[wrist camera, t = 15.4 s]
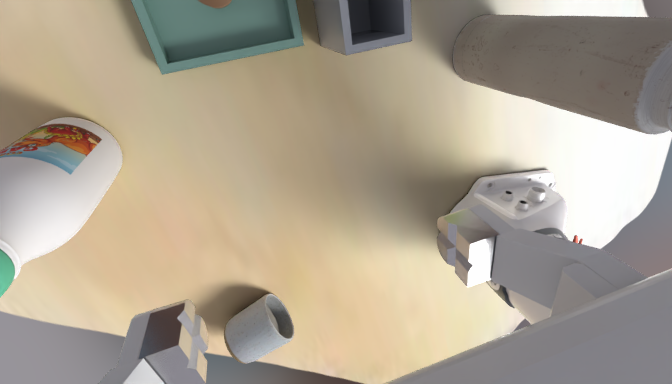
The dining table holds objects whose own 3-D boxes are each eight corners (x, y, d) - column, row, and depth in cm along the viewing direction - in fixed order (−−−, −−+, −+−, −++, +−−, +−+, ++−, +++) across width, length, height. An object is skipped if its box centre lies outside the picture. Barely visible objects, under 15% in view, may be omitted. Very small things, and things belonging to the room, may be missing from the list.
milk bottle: (139, 146, 36) (64, 266, 19) (99, 196, 37) (-4, 351, 20) (60, 99, 32) (-124, 199, 15) (19, 157, 33) (-194, 309, 16)
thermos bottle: (507, 67, 44) (824, 130, 21) (456, 91, 44) (723, 184, 20) (504, 3, 40) (899, -6, 17) (447, 30, 40) (772, 59, 16)
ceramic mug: (219, 313, 50) (219, 359, 44) (262, 284, 50) (269, 325, 43) (262, 341, 56) (267, 385, 50) (300, 315, 56) (311, 355, 49)
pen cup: (368, -33, 34) (409, -45, 26) (373, 34, 37) (411, 41, 30) (309, -23, 33) (334, -32, 25) (320, 45, 36) (346, 55, 29)
